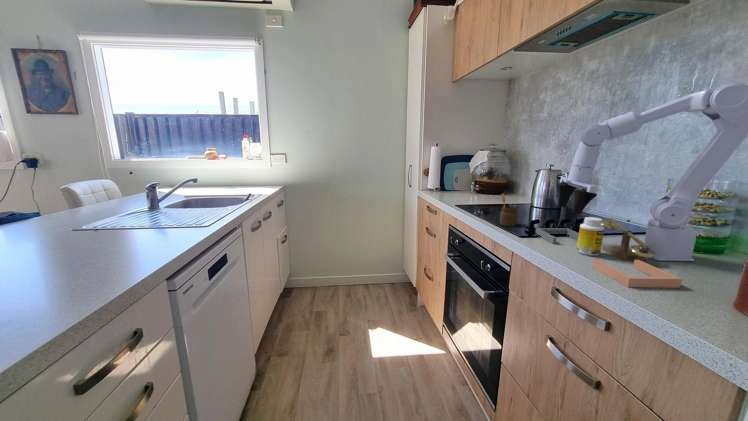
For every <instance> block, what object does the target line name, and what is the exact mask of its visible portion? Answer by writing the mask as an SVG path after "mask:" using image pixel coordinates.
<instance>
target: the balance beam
mask: <svg viewBox="0 0 748 421" xmlns="http://www.w3.org/2000/svg"><path fill="white" fill-rule="evenodd" d="M601 226H603V227H604V229H608V230H613V231H617V230H621V231H622V235H628V236H629V237H630V239H632V240H633V241H634V242H635V243H637V244H634V245H633V244H632V245H631V246H630V247H629V248H630V250H631V252H632V253H634V254H635V255H637V256H640V257H643V258H647V259H653V258H654V257H655V252H654V251H652V250H651V249H650V248H649V247H648V246H647V245H646V244H644V241H642V240H640V238H638V237H637V236H636V235H634V234H633V233H632V231H631V230H628V229H626V228H625V227H624V226H623V225H622V224H620V223H619V222H617V221H616V220H615V219H614V218H612V217H609V219H607V218H606V219H602V225H601Z"/></svg>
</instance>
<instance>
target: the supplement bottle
mask: <svg viewBox="0 0 748 421" xmlns="http://www.w3.org/2000/svg"><path fill="white" fill-rule="evenodd" d="M602 220H603V219H602V218H599V217H592V216H588V217H587V216H586V217H584V219H583V223H581V224H580V225H579V231H578V233H579V236H578V240H577V243H576V244H577V245H576V251H577V252H578V253H579V254H582V255H585V256H591V257H596V256H600V255H601V251H602V246H603V239H604V234H605V228H604V227H603V226H601V225H602Z"/></svg>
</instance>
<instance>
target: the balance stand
mask: <svg viewBox="0 0 748 421" xmlns="http://www.w3.org/2000/svg"><path fill="white" fill-rule="evenodd" d="M630 242H631V237H629V236H628V235H627V234H622V237H621V244H620V245H602V246H601V251H604V252H606V253H608V254H610V255H613V256H615V257H616V258H618V259H621V260H622V261H627V260H628V261H634V260H640V261H647V260H648V258H643V257H640V256H637V255H635V254H634V253H632V252H631V250H630V248H631V247H630Z"/></svg>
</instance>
